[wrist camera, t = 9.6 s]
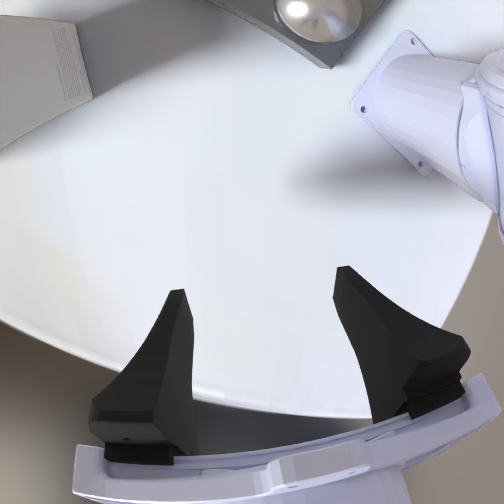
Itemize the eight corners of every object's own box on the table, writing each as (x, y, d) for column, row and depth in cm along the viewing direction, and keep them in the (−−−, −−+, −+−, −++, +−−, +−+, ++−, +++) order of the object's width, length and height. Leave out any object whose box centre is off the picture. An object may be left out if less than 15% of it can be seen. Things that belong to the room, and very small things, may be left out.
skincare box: (27, 51, 12) (-106, 79, 2) (80, 20, 12) (-50, 7, 2) (47, 124, 16) (-72, 206, 6) (100, 100, 16) (-19, 162, 6)
